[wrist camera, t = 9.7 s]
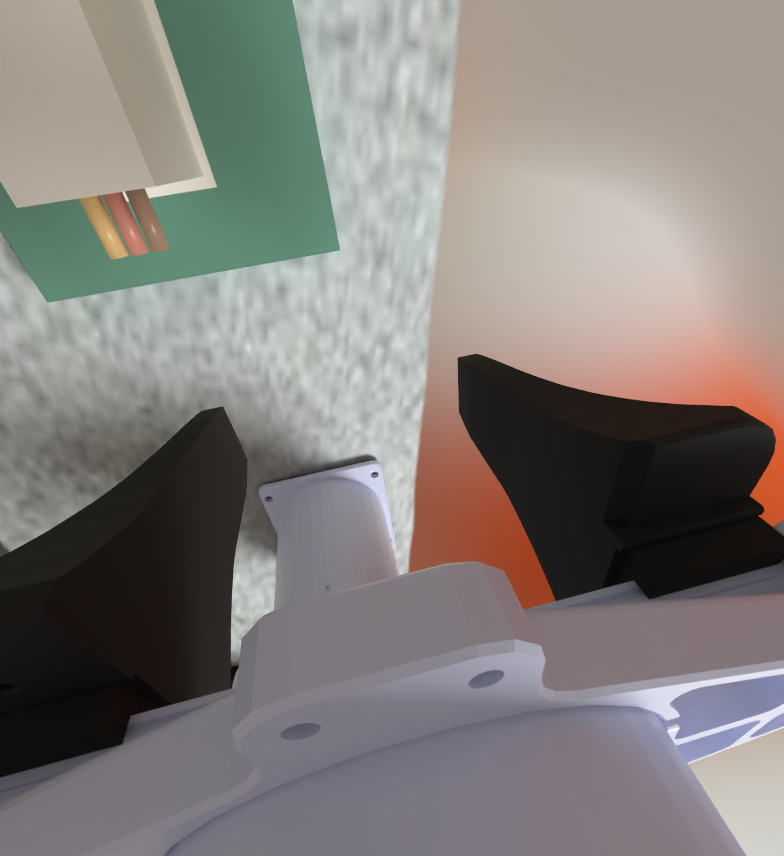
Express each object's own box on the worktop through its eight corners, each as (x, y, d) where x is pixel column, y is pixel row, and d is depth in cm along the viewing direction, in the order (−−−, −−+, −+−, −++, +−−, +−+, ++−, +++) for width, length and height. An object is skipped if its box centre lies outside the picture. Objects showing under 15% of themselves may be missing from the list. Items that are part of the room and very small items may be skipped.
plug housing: (220, 223, 15) (183, 254, 10) (136, 236, 15) (58, 275, 10) (124, -53, 11) (-12, -217, 6) (5, -41, 11) (-237, -203, 6)
